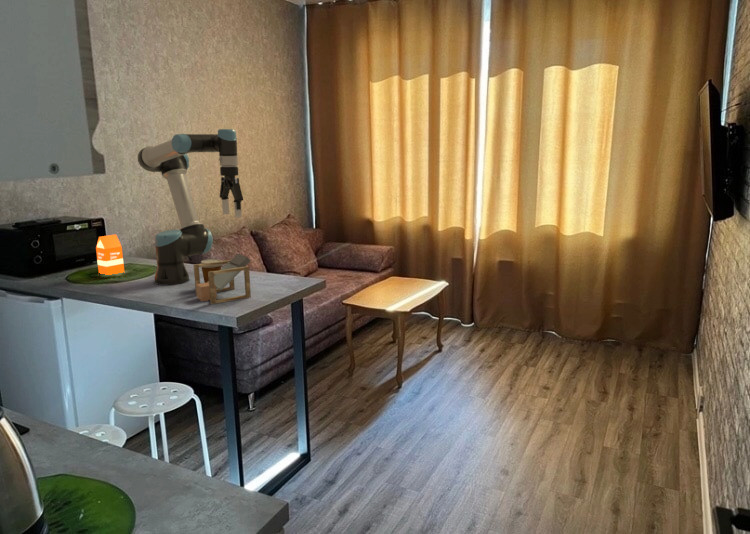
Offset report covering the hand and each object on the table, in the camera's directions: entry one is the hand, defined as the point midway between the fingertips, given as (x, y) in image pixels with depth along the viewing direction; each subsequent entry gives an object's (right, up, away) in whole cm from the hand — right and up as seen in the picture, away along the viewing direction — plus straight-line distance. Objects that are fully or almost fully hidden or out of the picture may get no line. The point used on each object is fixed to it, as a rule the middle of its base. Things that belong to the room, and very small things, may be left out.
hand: (232, 215), depth 245 cm
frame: (-2, -34, -9) cm, 36 cm away
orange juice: (-66, -27, +29) cm, 77 cm away
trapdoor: (+2, -25, -9) cm, 27 cm away
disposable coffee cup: (-10, -32, +6) cm, 34 cm away
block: (-5, -32, -12) cm, 34 cm away
